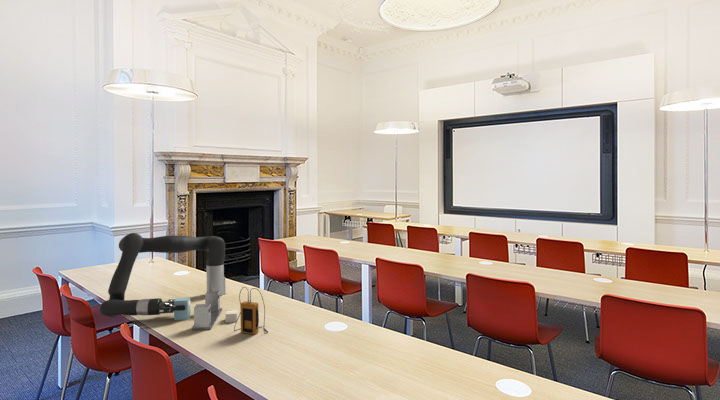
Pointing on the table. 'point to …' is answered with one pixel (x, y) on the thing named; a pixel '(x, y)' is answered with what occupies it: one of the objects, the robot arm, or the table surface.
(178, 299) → the block
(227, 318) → the block
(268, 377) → the table surface
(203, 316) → the grey u-shaped metal stand
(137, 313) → the robot arm
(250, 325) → the multimeter
